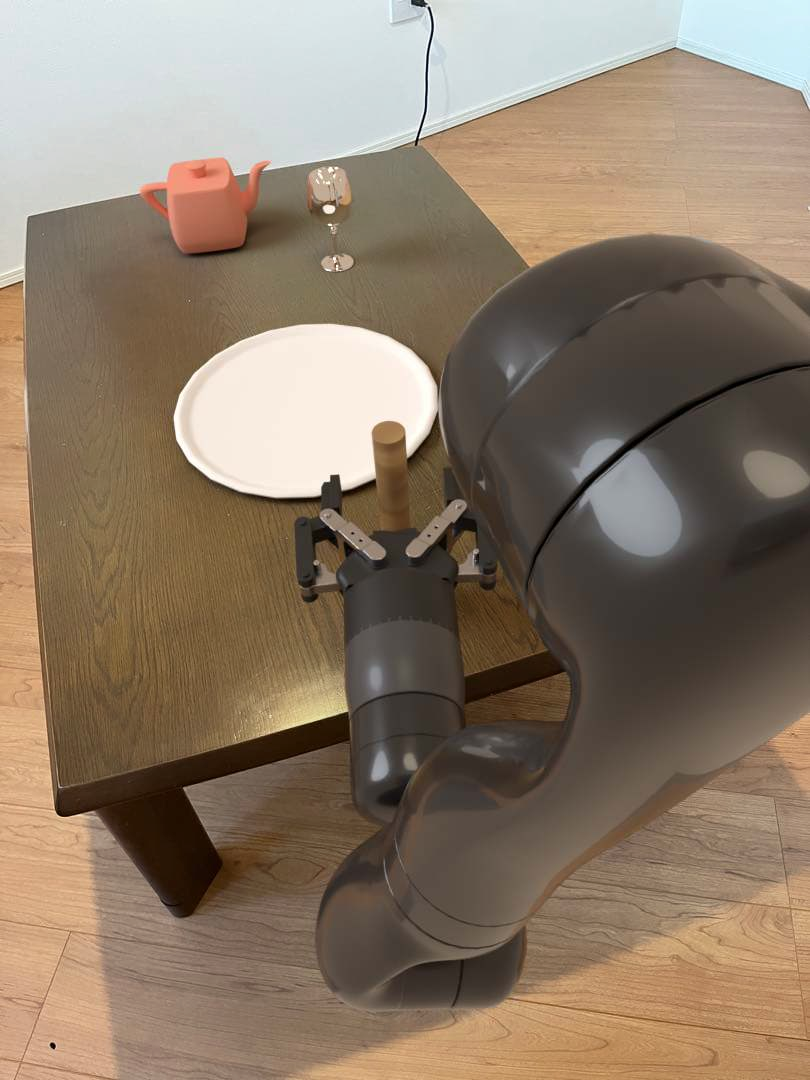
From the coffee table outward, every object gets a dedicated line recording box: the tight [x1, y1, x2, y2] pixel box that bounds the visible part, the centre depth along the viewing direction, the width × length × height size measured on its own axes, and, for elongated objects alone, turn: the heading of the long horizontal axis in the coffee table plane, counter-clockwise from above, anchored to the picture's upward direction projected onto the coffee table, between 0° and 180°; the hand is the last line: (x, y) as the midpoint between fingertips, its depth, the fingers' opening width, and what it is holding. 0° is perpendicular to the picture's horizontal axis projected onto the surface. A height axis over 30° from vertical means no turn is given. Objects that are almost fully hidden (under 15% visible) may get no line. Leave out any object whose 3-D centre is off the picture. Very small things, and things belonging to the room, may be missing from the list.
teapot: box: [139, 157, 272, 254], centre depth 114 cm, size 12×18×10 cm, turn 100°
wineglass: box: [306, 165, 355, 273], centre depth 107 cm, size 6×6×12 cm
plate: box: [173, 323, 439, 499], centre depth 92 cm, size 29×29×1 cm
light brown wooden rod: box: [372, 421, 412, 532], centre depth 66 cm, size 3×3×20 cm
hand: (391, 478), depth 64 cm, fingers open, 8 cm apart
